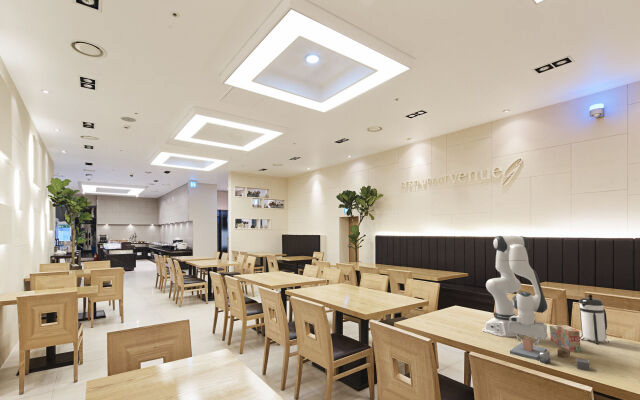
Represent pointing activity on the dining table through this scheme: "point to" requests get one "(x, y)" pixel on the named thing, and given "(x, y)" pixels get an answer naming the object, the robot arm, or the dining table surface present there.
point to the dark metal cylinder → (544, 357)
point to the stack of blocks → (566, 337)
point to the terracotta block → (528, 344)
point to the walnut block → (563, 353)
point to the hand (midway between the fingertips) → (528, 343)
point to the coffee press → (593, 319)
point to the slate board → (525, 353)
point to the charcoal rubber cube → (583, 364)
